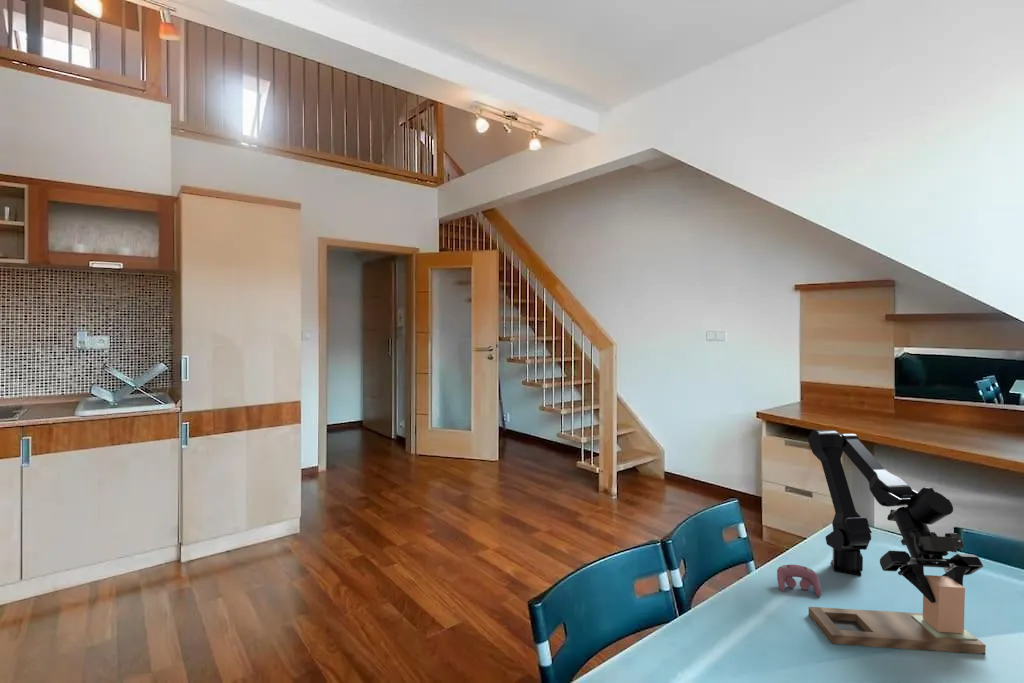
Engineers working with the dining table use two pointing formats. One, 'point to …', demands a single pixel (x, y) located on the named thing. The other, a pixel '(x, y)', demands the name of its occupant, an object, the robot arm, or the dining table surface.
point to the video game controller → (803, 572)
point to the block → (945, 605)
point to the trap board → (889, 630)
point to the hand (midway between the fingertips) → (947, 603)
